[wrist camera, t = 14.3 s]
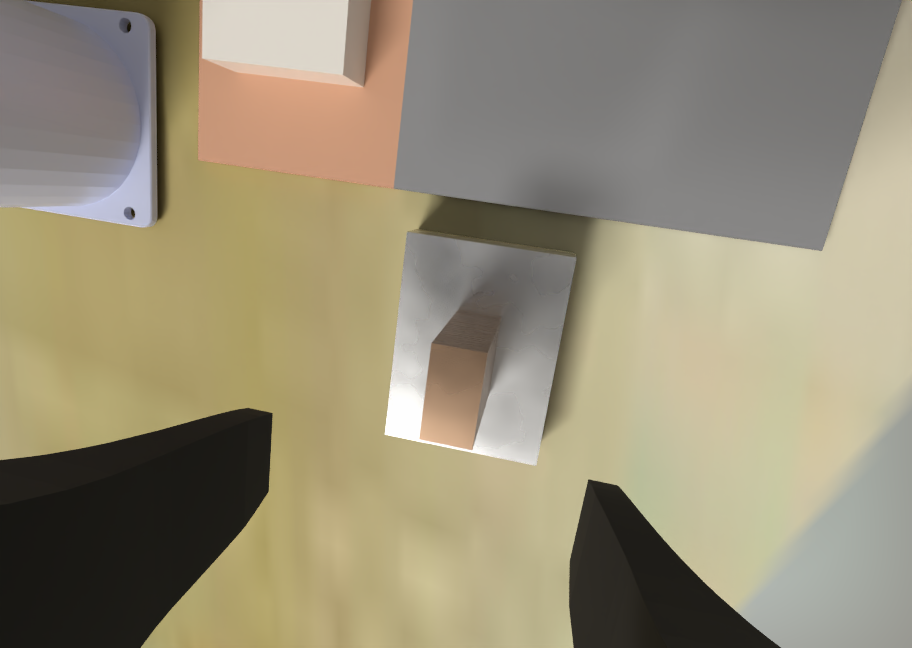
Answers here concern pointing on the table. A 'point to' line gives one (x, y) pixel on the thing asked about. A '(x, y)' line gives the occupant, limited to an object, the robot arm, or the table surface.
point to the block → (289, 38)
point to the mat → (583, 109)
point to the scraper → (477, 343)
